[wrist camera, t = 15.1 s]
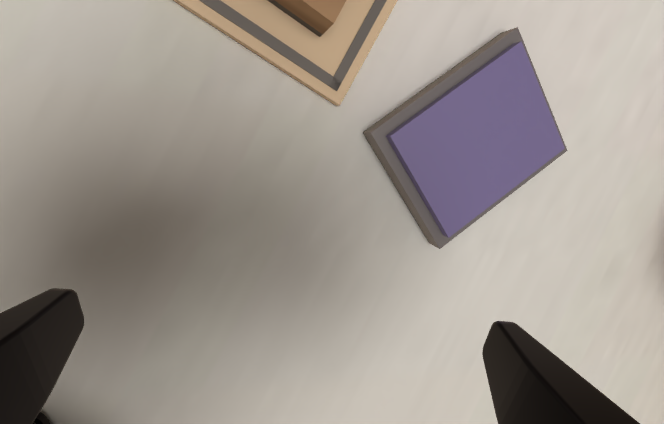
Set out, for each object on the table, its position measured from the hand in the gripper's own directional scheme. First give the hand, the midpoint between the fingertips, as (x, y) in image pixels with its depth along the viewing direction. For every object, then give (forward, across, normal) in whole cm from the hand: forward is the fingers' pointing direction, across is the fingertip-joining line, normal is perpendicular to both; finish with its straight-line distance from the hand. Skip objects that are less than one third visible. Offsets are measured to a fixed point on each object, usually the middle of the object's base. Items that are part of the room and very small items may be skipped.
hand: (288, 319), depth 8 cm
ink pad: (+16, -9, 0) cm, 18 cm away
